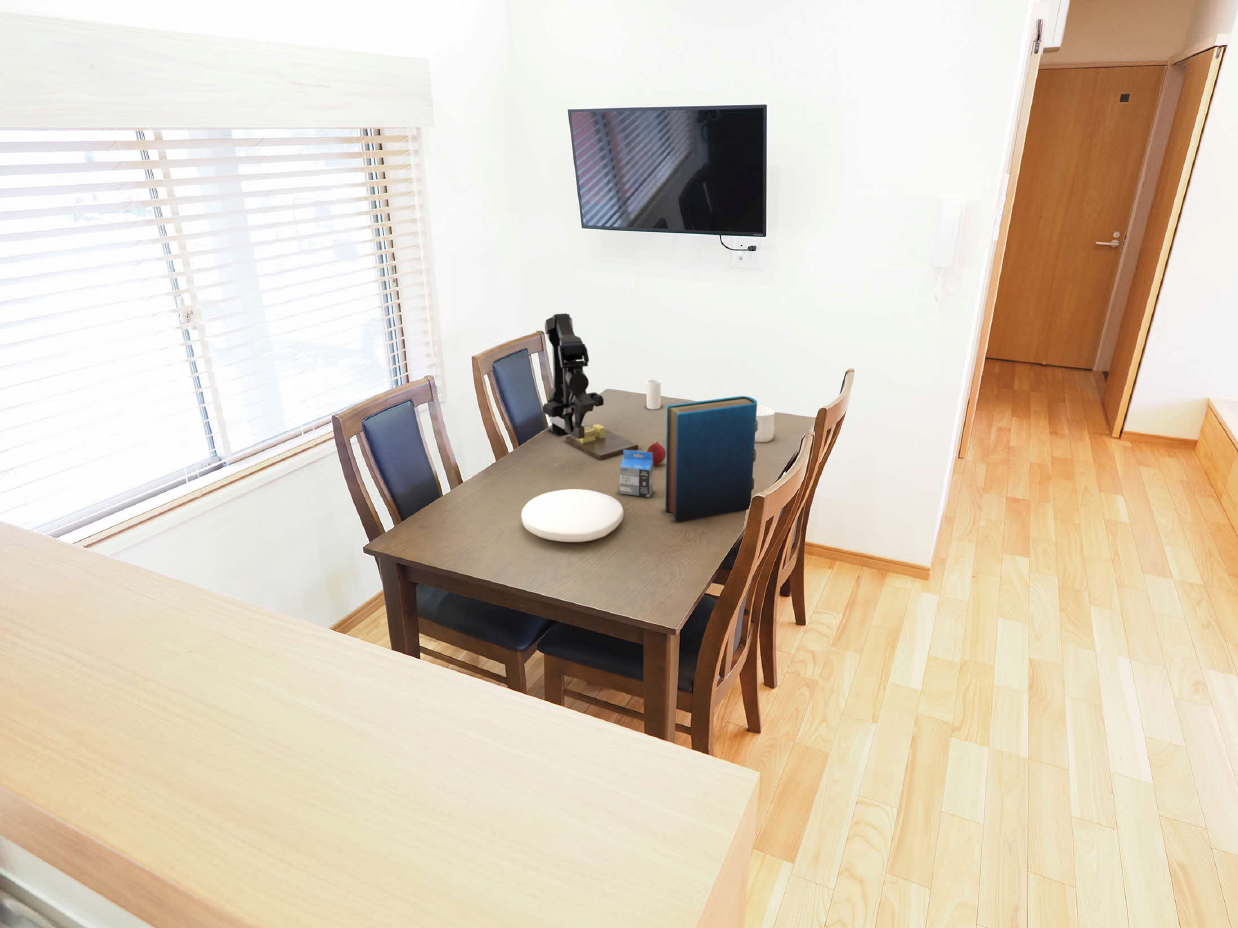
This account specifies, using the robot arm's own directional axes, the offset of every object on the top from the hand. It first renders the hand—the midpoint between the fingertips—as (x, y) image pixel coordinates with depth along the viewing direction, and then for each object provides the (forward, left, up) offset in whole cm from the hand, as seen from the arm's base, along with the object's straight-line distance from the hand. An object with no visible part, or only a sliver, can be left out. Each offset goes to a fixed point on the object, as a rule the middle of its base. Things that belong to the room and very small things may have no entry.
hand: (574, 430), depth 240 cm
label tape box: (+29, +1, -11) cm, 31 cm away
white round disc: (+34, -24, -11) cm, 43 cm away
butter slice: (-11, +17, -9) cm, 22 cm away
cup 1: (-26, +52, -11) cm, 60 cm away
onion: (+17, +18, -11) cm, 27 cm away
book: (+49, +11, -11) cm, 51 cm away
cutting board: (-7, +15, -11) cm, 20 cm away
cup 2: (+20, +60, -11) cm, 65 cm away
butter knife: (-4, 0, -1) cm, 4 cm away
